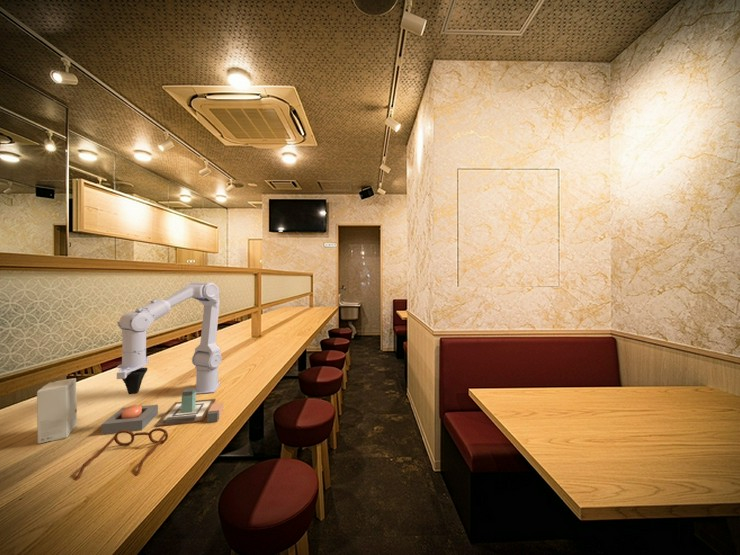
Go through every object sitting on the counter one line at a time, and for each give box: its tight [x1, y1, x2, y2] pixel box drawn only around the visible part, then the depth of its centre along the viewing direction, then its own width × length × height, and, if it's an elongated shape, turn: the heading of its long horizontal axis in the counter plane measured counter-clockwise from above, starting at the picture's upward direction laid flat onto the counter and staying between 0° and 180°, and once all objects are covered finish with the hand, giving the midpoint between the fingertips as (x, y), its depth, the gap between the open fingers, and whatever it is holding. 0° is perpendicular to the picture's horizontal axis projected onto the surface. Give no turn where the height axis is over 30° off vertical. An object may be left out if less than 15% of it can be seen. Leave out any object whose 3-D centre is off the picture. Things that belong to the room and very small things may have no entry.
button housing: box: [101, 404, 159, 435], centre depth 86 cm, size 10×10×3 cm
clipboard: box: [155, 398, 216, 428], centre depth 93 cm, size 15×13×2 cm
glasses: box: [74, 427, 169, 481], centre depth 70 cm, size 13×13×5 cm
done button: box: [122, 404, 143, 419], centre depth 86 cm, size 5×5×3 cm
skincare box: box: [36, 377, 78, 445], centre depth 79 cm, size 8×6×15 cm
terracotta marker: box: [206, 401, 224, 424], centre depth 91 cm, size 7×3×3 cm, turn 16°
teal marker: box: [181, 387, 197, 413], centre depth 93 cm, size 3×3×7 cm
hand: (133, 393), depth 86 cm, fingers closed
